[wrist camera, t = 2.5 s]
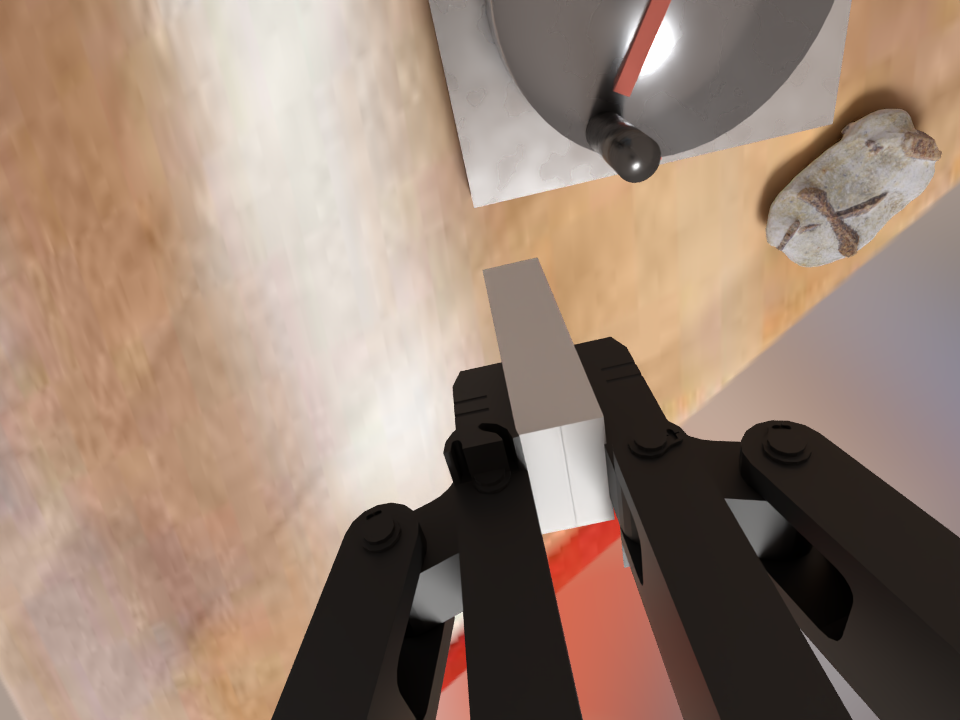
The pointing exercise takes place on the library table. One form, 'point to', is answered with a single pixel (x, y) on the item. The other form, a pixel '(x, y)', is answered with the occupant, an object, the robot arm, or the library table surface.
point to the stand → (559, 161)
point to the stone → (852, 189)
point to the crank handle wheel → (650, 68)
